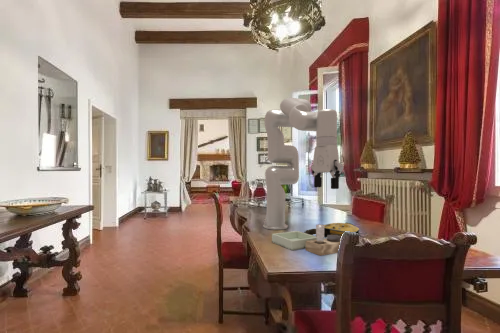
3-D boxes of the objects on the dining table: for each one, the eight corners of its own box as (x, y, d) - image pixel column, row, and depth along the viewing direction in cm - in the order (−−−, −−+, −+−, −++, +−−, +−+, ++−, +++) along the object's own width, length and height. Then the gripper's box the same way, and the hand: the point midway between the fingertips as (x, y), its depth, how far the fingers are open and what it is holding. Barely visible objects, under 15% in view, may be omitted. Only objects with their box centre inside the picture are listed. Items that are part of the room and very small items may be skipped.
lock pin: (314, 251, 119) (314, 224, 119) (320, 250, 120) (320, 224, 120) (319, 253, 116) (320, 226, 116) (325, 252, 118) (326, 225, 118)
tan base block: (320, 255, 113) (320, 241, 113) (305, 250, 120) (305, 236, 120) (347, 250, 120) (348, 237, 120) (332, 245, 127) (332, 233, 127)
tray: (271, 242, 131) (271, 233, 131) (297, 238, 138) (297, 230, 138) (292, 250, 119) (292, 241, 119) (318, 246, 126) (319, 237, 126)
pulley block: (297, 220, 147) (350, 218, 157) (296, 232, 148) (349, 229, 158) (312, 231, 134) (370, 228, 144) (311, 244, 135) (368, 240, 145)
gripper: (304, 143, 125) (304, 186, 124) (334, 140, 109) (333, 189, 109) (319, 144, 128) (319, 186, 128) (350, 141, 112) (350, 189, 112)
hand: (326, 188), depth 118 cm, fingers open, 9 cm apart
